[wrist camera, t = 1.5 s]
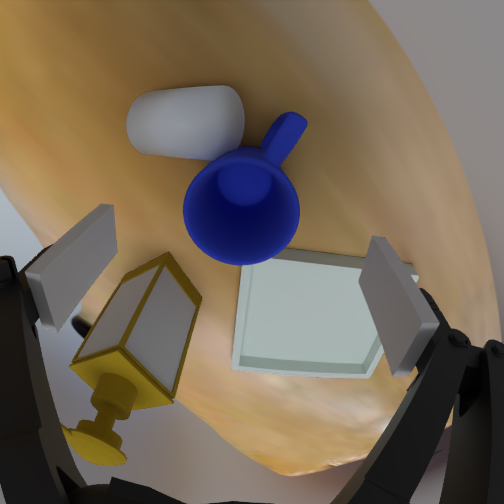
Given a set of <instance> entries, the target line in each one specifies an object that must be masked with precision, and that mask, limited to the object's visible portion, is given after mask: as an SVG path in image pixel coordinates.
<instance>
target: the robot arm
mask: <svg viewBox="0 0 504 504" xmlns="http://www.w3.org/2000/svg"><path fill="white" fill-rule="evenodd" d="M117 252H118V251H117V241H116V230H115V218H114V205H108V204H100V205H99V206H98V207H97V208H95V209H94V210H93V211H92V212H90V213H89V214H88V215H87V216H86V217H84V218H83V219H82V220H81V221H80V222H78V223H77V224H76V225H75V226H74V227H73V228H71V229H70V230H69V231H68V232H67V233H66V234H65V235H63V236H62V237H61V238H60V239H59V240H58V241H57V242H56V243H54V244H52V245H50V246H48V247H46V248H44V249H43V250H42V251H41V252H40V253H38V255H37V256H35V257H34V258H33V259H32V261H30V262H29V263H28V264H27V265H26V266H25V267H24V268H23V269H22V270H21V271H19V272H17V268H16V264H15V261H14V258H13V257H11V256H0V484H1V488H2V491H3V495H4V498H5V502H6V504H186V503H183V502H181V501H179V500H176V499H174V498H172V497H169V496H167V495H165V494H163V493H161V492H158V491H156V490H154V489H152V488H150V487H147V486H143V485H139V484H135V483H132V482H128V481H124V480H121V479H118V478H114V477H112V478H111V481H110V484H97V485H90V486H87V484H86V482H85V481H84V479H83V477H82V476H81V474H80V473H79V471H78V469H77V467H76V465H75V462H74V460H73V457H72V455H71V452H70V450H69V447H68V445H67V441H66V439H65V436H64V433H63V430H62V427H61V424H60V421H59V418H58V415H57V412H56V409H55V405H54V401H53V398H52V395H51V391H50V387H49V383H48V379H47V376H46V371H45V366H44V362H43V357H42V352H41V348H40V342H39V337H38V331H37V328H36V325H35V323H36V321H37V320H38V319H39V318H40V321H41V323H42V326H43V328H44V329H46V330H50V331H53V332H57V333H58V332H59V330H60V328H61V327H62V326H63V324H64V323H65V321H66V320H67V318H68V317H69V316H70V314H71V313H72V312H73V310H74V309H75V307H76V306H77V305H78V303H79V302H80V300H81V299H82V298H83V296H84V295H85V294H86V292H87V291H88V290H89V288H90V287H91V286H92V284H93V283H94V282H95V280H96V279H97V278H98V276H99V275H100V274H101V273H102V271H103V270H104V269H105V267H106V266H107V265H108V264H109V262H110V261H111V260H112V259H113V257H114V256H115V255H116V254H117ZM358 282H359V285H360V287H361V290H362V293H363V295H364V298H365V300H366V303H367V305H368V308H369V311H370V313H371V316H372V319H373V321H374V324H375V327H376V330H377V332H378V335H379V338H380V341H381V343H382V346H383V349H384V352H385V355H386V358H387V361H388V364H389V367H390V370H391V373H392V376H409V375H410V373H411V372H412V370H413V369H414V367H415V365H416V367H417V370H418V372H419V373H418V374H417V376H416V378H415V379H414V380H413V382H412V383H411V385H410V386H409V388H408V389H407V391H408V392H407V394H406V396H405V397H404V399H403V401H402V403H401V404H400V406H399V408H398V409H397V411H396V413H395V415H394V416H393V418H392V419H391V421H390V423H389V424H388V426H387V427H386V429H385V431H384V432H383V434H382V435H381V437H380V438H379V440H378V441H377V443H376V444H375V446H374V447H373V449H372V450H371V452H370V453H369V454H368V456H367V457H366V459H365V460H364V461H363V463H362V464H361V466H360V467H359V468H358V470H357V471H356V472H355V474H354V475H353V476H352V478H351V479H350V480H349V481H348V483H347V484H346V485H345V487H344V488H343V489H342V490H341V492H340V493H339V494H338V495H337V496H336V498H335V499H334V500H333V501H332V502H331V503H330V504H410V503H409V502H410V499H411V497H412V495H413V493H414V491H415V489H416V488H417V486H418V484H419V482H420V480H421V478H422V476H423V474H424V472H425V470H426V468H427V466H428V464H429V462H430V460H431V458H432V456H433V454H434V452H435V449H436V447H437V445H438V443H439V440H440V438H441V436H442V433H443V431H444V428H445V426H446V423H447V421H448V418H449V416H450V413H451V410H452V408H453V420H452V431H451V439H450V447H449V454H448V461H447V467H446V473H445V478H444V483H443V488H442V493H441V497H440V502H439V504H504V344H503V343H501V342H499V341H497V340H488V341H487V342H486V344H485V346H484V347H483V348H480V347H476V346H472V345H471V342H470V340H469V338H468V337H467V336H466V335H465V334H464V333H462V332H461V331H459V330H457V329H452V328H450V326H449V324H448V322H447V321H446V319H445V317H444V316H443V314H442V312H441V311H439V308H438V306H437V304H436V303H435V301H434V300H433V298H432V296H431V295H430V294H429V293H428V292H427V291H425V290H424V289H423V288H418V286H417V284H416V283H415V281H414V280H413V278H412V276H411V275H410V273H409V272H408V270H407V269H406V267H405V266H404V264H403V263H402V261H401V260H400V258H399V256H398V255H397V254H396V252H395V251H394V249H393V248H392V246H391V245H390V243H389V242H388V240H387V239H386V238H385V237H378V236H372V238H371V242H370V245H369V248H368V252H367V255H366V258H365V261H364V265H363V268H362V271H361V274H360V277H359V280H358ZM453 405H454V407H453ZM209 504H271V503H249V502H238V501H230V502H220V503H209Z"/></svg>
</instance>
